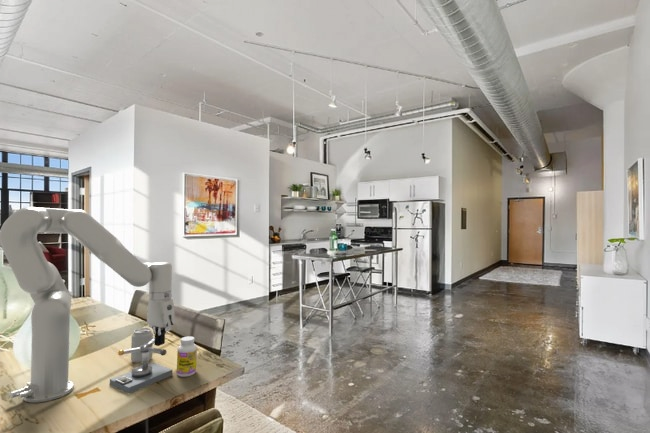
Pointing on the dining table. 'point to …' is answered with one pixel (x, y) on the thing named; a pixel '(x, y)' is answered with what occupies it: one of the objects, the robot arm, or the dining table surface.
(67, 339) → the robot arm
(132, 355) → the can
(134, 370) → the capstan
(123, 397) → the dining table surface
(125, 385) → the stand
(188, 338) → the supplement bottle
